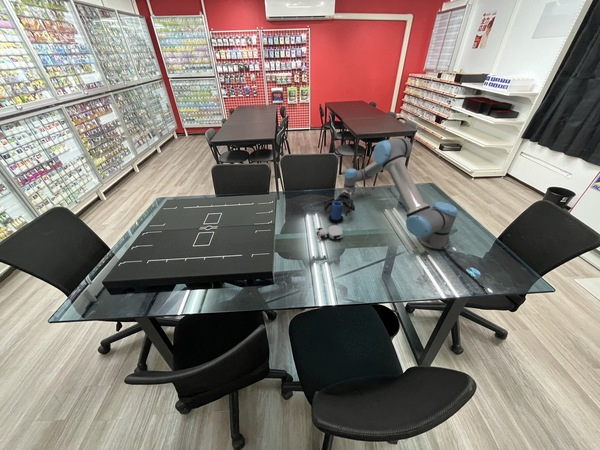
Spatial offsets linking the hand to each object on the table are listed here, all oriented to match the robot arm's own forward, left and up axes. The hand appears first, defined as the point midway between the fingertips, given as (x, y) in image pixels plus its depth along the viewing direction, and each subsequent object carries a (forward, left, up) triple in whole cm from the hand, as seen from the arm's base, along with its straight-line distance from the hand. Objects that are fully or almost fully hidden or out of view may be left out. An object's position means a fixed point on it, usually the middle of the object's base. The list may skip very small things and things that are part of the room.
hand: (335, 211), depth 151 cm
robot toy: (-15, +3, -8) cm, 17 cm away
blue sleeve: (+3, -1, -6) cm, 7 cm away
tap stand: (+3, -1, -8) cm, 8 cm away
